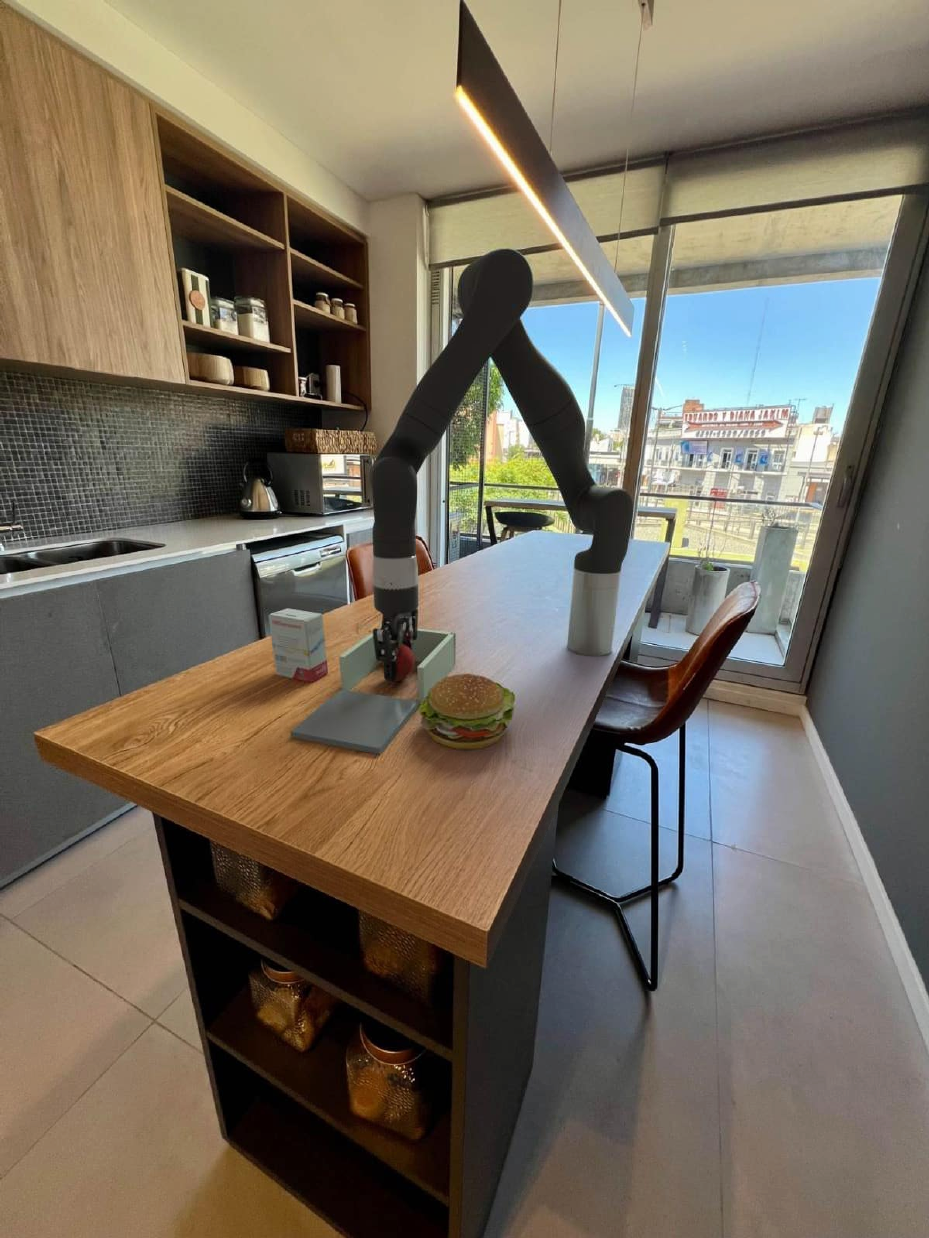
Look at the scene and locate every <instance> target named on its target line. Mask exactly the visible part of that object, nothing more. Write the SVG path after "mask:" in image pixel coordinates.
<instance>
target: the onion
mask: <svg viewBox="0 0 929 1238" xmlns="http://www.w3.org/2000/svg"><path fill="white" fill-rule="evenodd" d="M394 643H396V641H395V642H394ZM391 649H392V652H393V648H392V647H391ZM415 663H416V661H415V660H414V655H413V652H412V651H411V649H410V648H409V647H407V646H406V645H404V644H402V646H401V648H400V649H398V655H397V675H398V678H397V680H396V681H398V682H399V681H402V680H404V679H405V678H406V677H408V676H409V675H410V674H411V673H412V671H413V669H414V668H415ZM381 667H382V669H383V671H384V662H383V661H382V663H381Z"/></svg>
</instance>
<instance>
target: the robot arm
mask: <svg viewBox="0 0 929 1238" xmlns="http://www.w3.org/2000/svg"><path fill="white" fill-rule="evenodd" d="M459 276H460V277H459V279H458V283H457V288H456V289H457V290H456V293H457V294H456V295H457V302H458V306H459V308H460V312H461V314H462V315H463V316H462V318H461V320H460V323H459V324H458V326H457V328H456V330H455V332H454V333H453V335H452V336H451V337H450V340H449V341H448V343H447V344H445V345H446V346H445V347H444V348H443V350H442V351H441V352H440V354H439V355H438V357H437V358H436V359H435V360H434V362H433V363H432V364H431V365H430V366H429V368H428V369H427V370H426V372H425V373H424V374H423V376H422V377H421V379H420V380H419V382H418V384H417V385H416V387H415V388H414V390H413V392H412V393H411V396H410V397H409V400H408V401H407V402H406V405H405V407H404V408H403V410H402V413H401V414H400V416H399V419H398V421H397V423H396V426H395V427H394V430H393V431H392V433H391V435H390V436H389V437H388V439H387V441H386V442H385V443H384V445H383V447H382V448H381V450H380V451H379V453H378V455H377V456H376V458H375V460H374V462H373V464H372V466H371V468H370V470H369V473H368V484H369V487H370V489H371V493H372V495H371V496H372V507H373V508H372V509H373V525H372V552H373V553H372V554H373V556H372V557H373V558H372V586H373V588H372V589H373V607H374V609H375V610H376V611H377V612H379V613H381V614H382V618H381V626H382V627H381V626H380V627H381V628H380V627H379V628H380V629H378V628H375V627H374V628H373V629H372V633H373V639H374V647H375V654H376V660H377V661H383V662H384V670H383V676H384V677H383V678H384V680H385V681H388V682H396V681H397V678H398V675H397V655H398V649H400V648H401V646H402V644H404V645H406V646H407V647H409V648H410V649H411V651H412V646H413V644H414V642H413V640H416V639H417V629H418V623H419V620H418V619H419V576H418V575H419V569H418V560H417V542H416V541H417V540H416V538H417V536H416V515H417V505H418V503H417V502H418V478H417V475H418V474H419V471H420V469H421V467H422V466H423V464H424V462H425V460H426V459H427V457H428V456H429V455H430V454H431V453H432V452H433V451H434V450H435V449H436V448H437V447H438V445H439V443H440V441H441V439H443V436H444V435H445V433H446V431H447V430H448V427H449V426H450V423H451V422H452V421H453V418H454V416H455V414H457V413H456V412H457V411H458V409H459V408H460V406H461V404H462V402H463V401H464V398H465V397H466V395H467V394H468V392H469V390H470V388H471V387H472V386H473V383H474V382H475V380H476V379H477V377H479V374H480V373H481V371H482V370H483V368H484V367H485V365H486V364H487V363H488V360H489V359H491V360H492V362H493V364H494V365H495V367H496V369H497V371H498V373H499V375H500V377H501V378H502V380H503V382H504V385H505V386H506V389H507V391H508V393H509V395H510V396H511V398H512V400H513V402H514V404H515V406H516V408H517V410H518V412H519V414H520V415H521V418H522V420H523V423H524V424H525V426H526V428H527V430H528V432H529V434H530V436H531V437H532V440H533V441H534V443H535V445H536V446H537V447H538V449H539V451H540V453H541V455H542V457H543V459H544V461H545V464H546V465H547V467H548V470H549V472H550V473H551V475H552V477H553V479H554V481H555V484H556V486H557V488H558V491H559V494H560V495H561V498H562V500H563V504H564V506H565V508H566V511H567V514H568V515H569V518H570V520H571V522H572V524H573V525H574V526H575V527H576V528H577V529H578V530H580V531H581V532H584V533H588V534H592V541H591V545H590V547H588V549H586V550H581V551H579V552H577V553H576V554H575V555H574V562H573V563H574V564H573V571H572V572H573V574H572V585H571V596H570V597H571V599H570V611H569V622H568V631H567V632H568V633H567V645H566V646H567V648H568V650H570V651H572V652H574V653H577V654H580V655H584V656H593V657H598V656H605V655H608V654H610V653H612V650H613V642H614V634H615V627H616V626H615V625H616V617H617V609H618V608H617V607H618V599H619V591H620V590H619V589H620V581H621V574H622V571H621V570H622V565H623V562H624V559H625V557H626V556H627V553H628V548H629V543H630V536H631V530H632V526H633V518H634V517H633V516H634V502H633V498H632V496H631V494H630V493H629V491H627V490H626V489H624V488H621V487H615V486H614V487H613V486H600V485H598V484H597V482H596V481H595V480H594V478H593V476H592V474H591V472H590V470H589V468H588V465H587V463H586V459H585V444H586V443H585V442H586V422H585V418H584V414H583V411H582V410H581V407H580V404H579V403H578V401H577V397H576V396H575V393H574V392H573V390H572V388H571V386H570V383H568V381H567V379H566V378H565V376H563V375H562V373H561V372H560V371H559V370H558V369H557V368H556V366H555V365H554V364H552V362H551V361H549V359H548V358H547V357H546V356H545V355H544V354H543V353H542V352H541V350H540V349H538V347H537V346H536V345H535V344H534V342H533V339H531V337H530V336H529V333H528V332H527V329H526V327H525V324H524V322H523V320H522V316H523V314H524V313H525V311H526V310H527V309H528V306H529V305H530V303H531V300H532V298H533V293H534V274H533V271H532V267H531V265H530V263H529V261H528V260H527V258H526V257H525V256H524V255H523V254H522V253H521V252H520V251H518V250H516V249H514V248H509V247H506V248H505V247H504V248H503V247H502V248H498V249H494V250H492V251H489V252H487V253H486V254H484V255H483V256H480V258H477V259H475V261H473V262H471V263H469V265H467V266H466V267H465V268H464V269H463V271H462V272H461V274H460V275H459ZM391 640H393V641H396V643H391ZM391 647H392V648H393V652H392V649H391ZM381 650H382V654H381Z"/></svg>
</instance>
